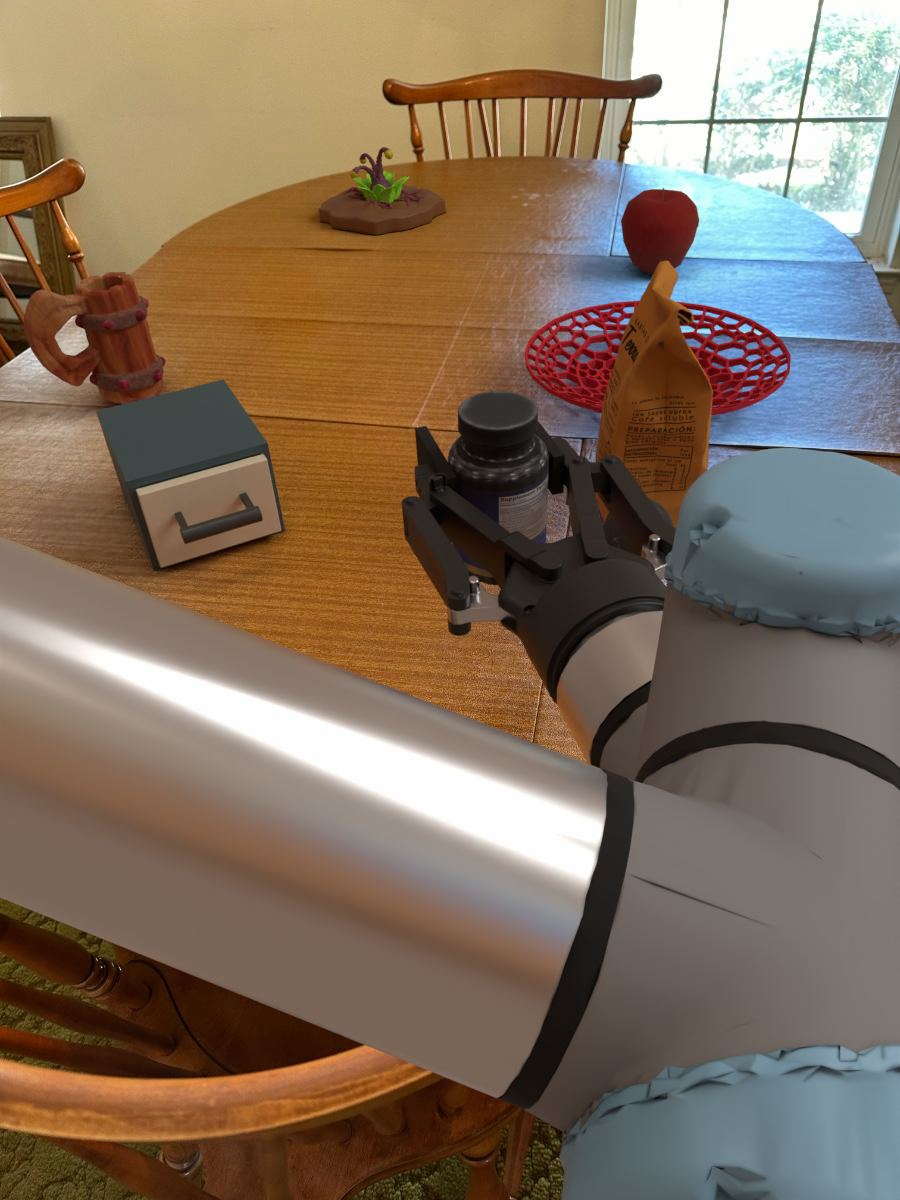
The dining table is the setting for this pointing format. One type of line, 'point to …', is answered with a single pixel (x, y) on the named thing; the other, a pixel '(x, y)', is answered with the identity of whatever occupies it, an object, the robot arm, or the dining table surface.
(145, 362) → the mug
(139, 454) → the cabinet
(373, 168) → the plant
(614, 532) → the light bulb
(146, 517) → the drawer
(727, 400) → the bowl
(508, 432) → the pill bottle
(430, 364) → the dining table surface
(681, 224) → the apple
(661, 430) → the coffee package
